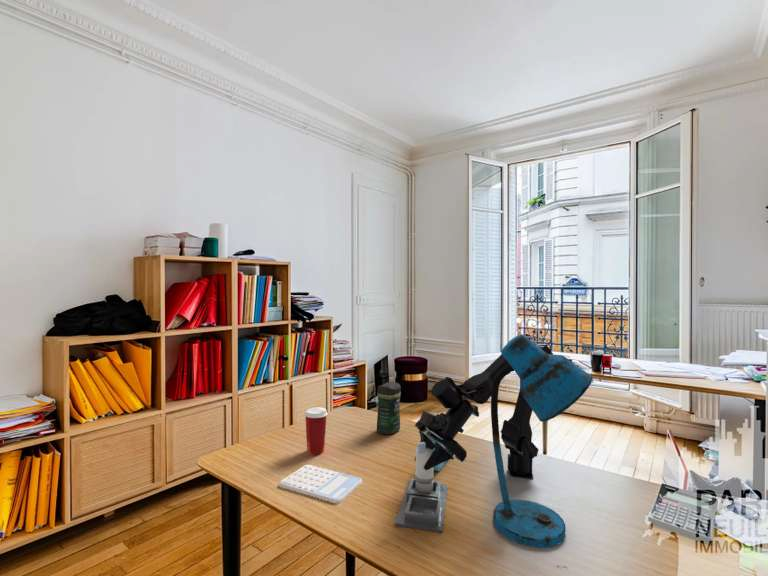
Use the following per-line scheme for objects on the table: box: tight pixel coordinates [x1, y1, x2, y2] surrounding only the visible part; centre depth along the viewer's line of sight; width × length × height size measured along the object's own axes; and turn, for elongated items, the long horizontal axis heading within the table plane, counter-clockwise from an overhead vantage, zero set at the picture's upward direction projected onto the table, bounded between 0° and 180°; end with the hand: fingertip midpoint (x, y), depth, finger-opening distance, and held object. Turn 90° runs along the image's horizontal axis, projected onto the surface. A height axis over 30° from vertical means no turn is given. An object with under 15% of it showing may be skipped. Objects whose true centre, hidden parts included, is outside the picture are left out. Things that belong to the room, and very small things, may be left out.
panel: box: [394, 477, 449, 533], centre depth 101 cm, size 11×21×2 cm, turn 167°
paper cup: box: [304, 406, 328, 456], centre depth 133 cm, size 8×8×14 cm
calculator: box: [278, 464, 363, 505], centre depth 111 cm, size 13×20×2 cm, turn 64°
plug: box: [414, 441, 435, 493], centre depth 105 cm, size 5×5×12 cm
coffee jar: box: [376, 381, 402, 435], centre depth 153 cm, size 10×8×19 cm
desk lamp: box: [490, 333, 594, 548], centre depth 92 cm, size 16×22×45 cm
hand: (420, 465), depth 105 cm, fingers closed on plug, 5 cm apart
